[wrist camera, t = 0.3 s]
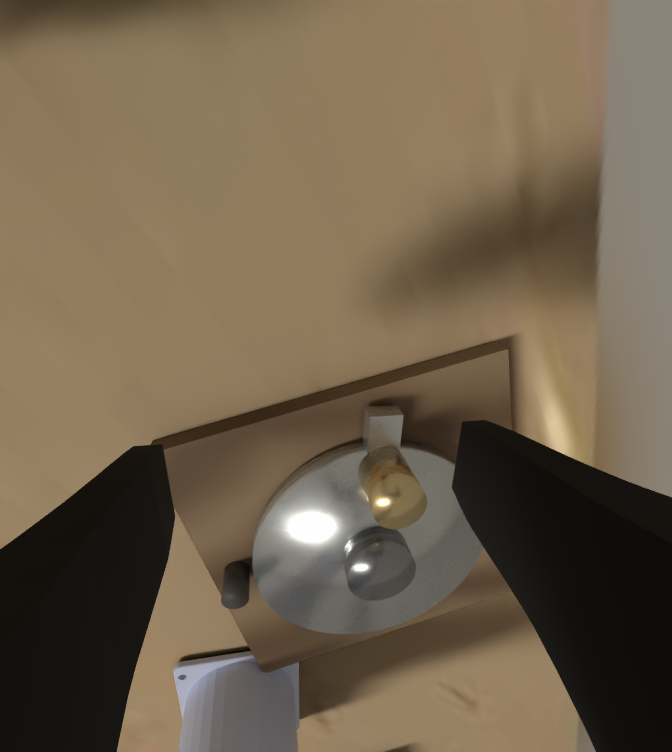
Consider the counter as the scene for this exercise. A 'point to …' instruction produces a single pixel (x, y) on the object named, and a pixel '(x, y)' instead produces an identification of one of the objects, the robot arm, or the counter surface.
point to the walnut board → (300, 446)
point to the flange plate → (343, 513)
